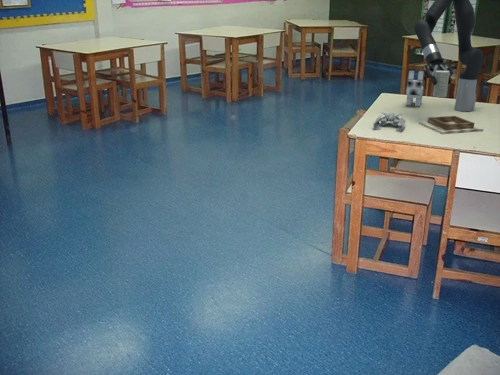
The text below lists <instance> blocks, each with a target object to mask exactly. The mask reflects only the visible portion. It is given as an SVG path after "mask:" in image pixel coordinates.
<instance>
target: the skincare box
mask: <svg viewBox="0 0 500 375" xmlns="http://www.w3.org/2000/svg"><path fill="white" fill-rule="evenodd" d="M434 76H435V78H436V80H437V84H436V85H434V84H433V89H432V90H433V91H432V97H435V98H436V97H438V98H447V96H448V87H449V84H448V81H449V71H435V75H434Z"/></svg>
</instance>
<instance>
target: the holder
mask: <svg viewBox="0 0 500 375" xmlns="http://www.w3.org/2000/svg"><path fill="white" fill-rule="evenodd" d="M418 125H421V126H423V127H424V128H427V129H429V130H432V131H434V132H437V133H439V134H442V135H447V134H460V133H474V132H483V131H484V128H482V127H479V126H477V125H475V122H473V121H470V120H468V119H464V118H462V117H459V116H457V115H449V116H445V115H444V116H433V117H432V116H431V117H428V119H427V120H426V121H424V120H423V121H418Z"/></svg>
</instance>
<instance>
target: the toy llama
mask: <svg viewBox="0 0 500 375" xmlns="http://www.w3.org/2000/svg"><path fill="white" fill-rule="evenodd" d="M414 75H415V70H409V71H408V78H407V79H408V80H407V83H406V93H405V95H406V101H405V102H406V104H405V106H406V107H411V106H412V104H413V103H414V102H413V101H414V99H415V104H414V107H416V108H420V107H421V105H422V103H423V95H424V86H423V81H424V75H425V73H424V71H421V70H418V75H417V79H414V78H415V76H414Z"/></svg>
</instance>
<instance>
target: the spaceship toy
mask: <svg viewBox="0 0 500 375" xmlns="http://www.w3.org/2000/svg"><path fill="white" fill-rule="evenodd" d="M380 113H381V114H383V115H384V116H382V115H380V116H378V117H377V118H376V119H375V121H374V122H373V129H375V130H377V131H381V129H382V128H383V127H384V125H386V124H387V123H389V122H390V123H391V124H392V125H394V126H396V129H395V132H398V133H399V132H403V130H404V127H405V125H406V119H404V118H403V117H402V115H404V114H403V113H400V114H395V113H394V112H390V113H388V114H387V113H385V112H380ZM399 116H401V117H399ZM399 124H400V125H399Z"/></svg>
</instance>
